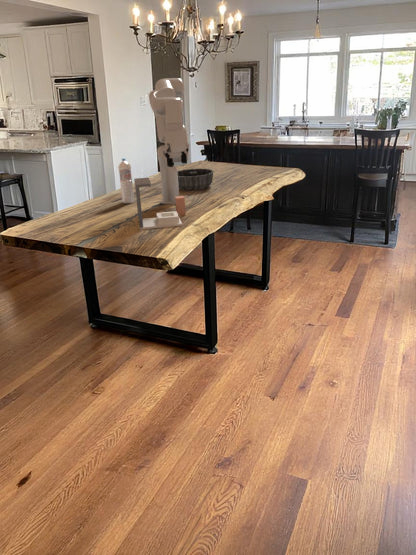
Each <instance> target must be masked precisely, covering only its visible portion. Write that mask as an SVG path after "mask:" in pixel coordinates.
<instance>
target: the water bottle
mask: <svg viewBox="0 0 416 555" xmlns="http://www.w3.org/2000/svg"><path fill="white" fill-rule="evenodd" d="M131 168H132V166H131V165H130V163H129V162H127V161H126V157H125V158H121V162H120V163H119V165H118V172H119V182H120V190H121V191H120V192H121V198H122V204H124V205H130V204H131V205H132V204H134V203H135V193H134V186H133V185H134V184H133V176H132V169H131Z"/></svg>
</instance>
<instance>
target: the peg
mask: <svg viewBox="0 0 416 555" xmlns="http://www.w3.org/2000/svg"><path fill="white" fill-rule="evenodd" d="M174 205H175V211H177V213H178V215H180V216H186V214H187V213H186V200H185V196H184V195H179V196H176V197H175V204H174Z"/></svg>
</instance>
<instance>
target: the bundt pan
mask: <svg viewBox="0 0 416 555" xmlns="http://www.w3.org/2000/svg"><path fill="white" fill-rule="evenodd" d="M177 171H178V184H179V190H184V191H193V190H194V191H197V190H205V189H207V188H209V187H210V186H211V185H212V183H213V178H214V172H215V170H213V169H211V168H189V169H182V170H177Z"/></svg>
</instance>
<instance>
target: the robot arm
mask: <svg viewBox="0 0 416 555" xmlns="http://www.w3.org/2000/svg"><path fill="white" fill-rule="evenodd" d="M154 88H155V89H154V90H151V91H150V92H149V94H148V99H149V105H150V107H151V108H150V109H151V110H152V112H153V114H154V116H155V124H156V131H157V132H156V133H157V137H158V141H159V142H160V143H164V145H160V146H159V147H158V148H157V150H156V153H157V159H158V163H159V170H160V181H161V182H160V183H161V192H162V199H161V200H159V201H160V204H162V205H165V206H166V205H176V204H175V197H176V196H180V188H179V184H178V171H179V170H178V169H177V167H176V166H175V165H174V163H182V164H188V161H189V159H190V144H189V140H188V139H189V137H188V131H187V127H186V126H185V125H184V122H183V110H184V101H183V99H184V95H185V84H184V82H183V80H182V79H181V78H180V77H170V78H161V79H158V80H157V81H156V82H155V87H154Z"/></svg>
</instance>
